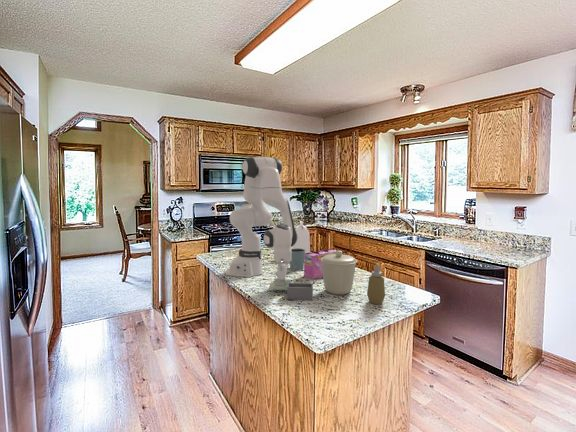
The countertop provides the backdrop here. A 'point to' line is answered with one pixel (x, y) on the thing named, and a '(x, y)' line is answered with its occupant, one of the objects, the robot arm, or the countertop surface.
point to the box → (300, 291)
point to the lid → (277, 286)
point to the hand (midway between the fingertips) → (282, 283)
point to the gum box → (315, 263)
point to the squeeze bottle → (376, 287)
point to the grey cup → (297, 259)
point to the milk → (302, 238)
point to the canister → (338, 272)
